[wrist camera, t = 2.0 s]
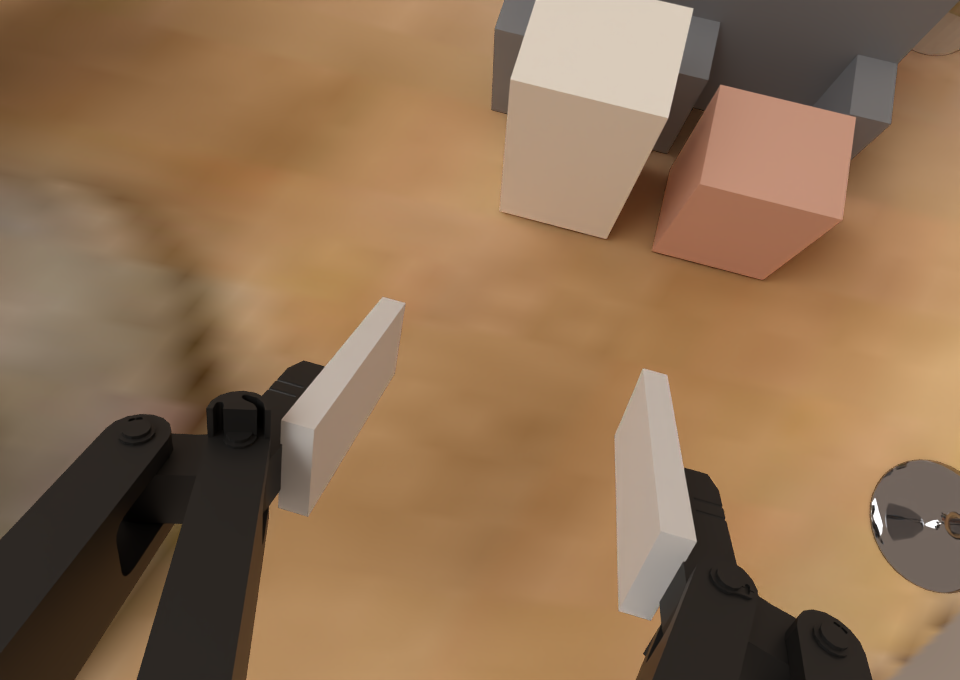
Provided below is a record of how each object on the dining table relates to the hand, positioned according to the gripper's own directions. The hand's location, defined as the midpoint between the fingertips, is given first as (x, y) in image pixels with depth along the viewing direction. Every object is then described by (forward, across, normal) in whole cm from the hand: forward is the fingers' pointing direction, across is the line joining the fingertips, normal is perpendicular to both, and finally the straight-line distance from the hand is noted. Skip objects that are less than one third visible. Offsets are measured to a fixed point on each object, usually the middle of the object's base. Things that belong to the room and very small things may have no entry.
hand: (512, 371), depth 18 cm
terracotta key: (+23, +10, 0) cm, 25 cm away
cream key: (+23, 0, 0) cm, 23 cm away
